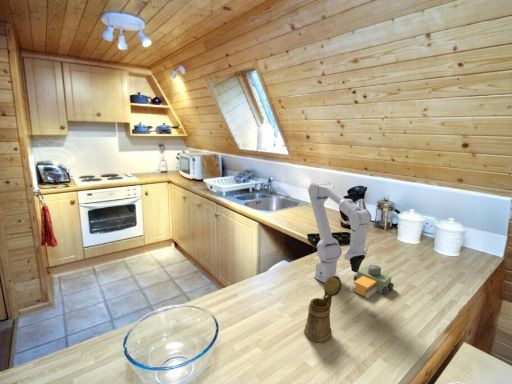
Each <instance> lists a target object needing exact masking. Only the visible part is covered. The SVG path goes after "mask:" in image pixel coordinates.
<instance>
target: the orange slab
mask: <svg viewBox="0 0 512 384" xmlns="http://www.w3.org/2000/svg"><path fill="white" fill-rule="evenodd" d="M376 283H377V281H375V280H373V279H371V278H368V277H366V276H362V277H360V278H359V279H357V280H356V281H354V280H353V284H354V285H355V292H354V293H356V294H358V295H361V296H362V297H365V294H366V292H368V291H369V290H370V289H372V288H373V287H374V284H376Z"/></svg>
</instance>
